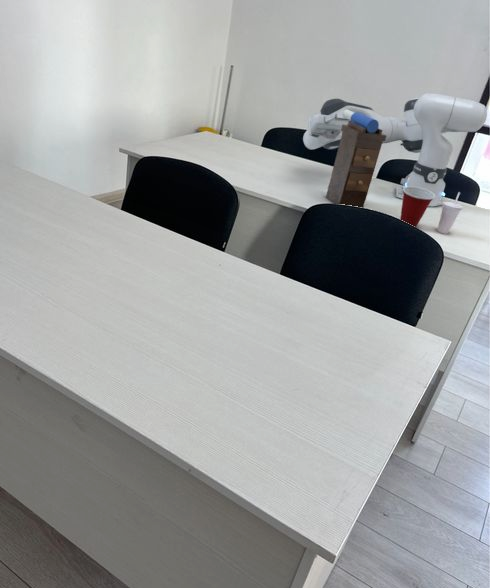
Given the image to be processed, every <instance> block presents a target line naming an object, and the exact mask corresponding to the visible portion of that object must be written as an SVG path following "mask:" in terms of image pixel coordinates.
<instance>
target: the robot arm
mask: <svg viewBox="0 0 490 588" xmlns="http://www.w3.org/2000/svg"><path fill="white" fill-rule="evenodd" d="M345 110H350V111H352V112H354V113H356V112H360V113H362V114H364V115H366V116H368V117H371V118H373V119H375V120H377V121H378V123H379V127H378V128H379V129H381V130H383V131H382V133H383V134H385V135H387V136H386V139H385V141H383V142H382V145H383V144H384V145H385V144H390V143H393V142H398V141H401V143H399V144H400V146H403V148H404V149H405V150H406V151H408V152H409V153H413V154H419V156H418V159H417V161H416V162H415V163H414V165H413V168H412V171H411V172H410V173H409V174H407V176H405V178H403V177H402V178H401V180H400V185H402V186H400V185H399V186H396V188H395V197H396V198H399V199H401V200H403V194H404V191H403V188H404V187H408V186H414V187H420V188H423V189H427V190H429V191H431V192H432V193H434V194H435V197H434V199H432V201H431V202H430V204H429V205H428V207H437V206H442V205H443V202H444V201H443V200H442V198H443V197H445V195H446V193H445V192H444V191H445V188H446V182H445V181H444V179H445V177H446V174H447V171H448V168H447V167H448V165H449V161H450V159H451V156H452V153H453V145H452V143H451V142H450V140H449V139H447V138H446V137H445V136H444V135H443V134H446V133H475V132H477V131H479V130H480V129H481V128H482V127H483V126H484V125H485V123H486V121H487V118H488V110H487V107H486V106H485V104H482V103H481V102H478V101H476V100H473V99H468V98H463V97H458V96H453V95H447V94H442V93H435V92H433V93H432V92H431V93H424V94H421V95H420V96H417V97H414V98H411V99H409V100H408V101H406V103H404V107H403V113H404V114H403V120H402V118H399V117H396V116H389V115H380V114H379V113H377V112H376V111H375V110H374V109H373V108H372V107H370V106H366V105H362V104H359V103H358V104H357V103H353V102H349V101H345V100H343V99H342V98H331V99H327V100H326V101H325V102H324V103H322V106H321V109H320V110H319V112H320V114H319V113H317V114H314V115H312V116H311V117H310V118H308V123H307V130H306V131H305V132H304V134H303V137H302V142H303V144H304V146H305V148H307V149H308V150H316V149H319V148H322V147H323V148H324V149H327V150H336V149H338V148H339V144H340V140H341V136H342V132H343V131H342V130H341V128H342V124H344V125H348V122H349V121H350V120H348V119H346V118H344V117H343V112H344V111H345Z"/></svg>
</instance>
